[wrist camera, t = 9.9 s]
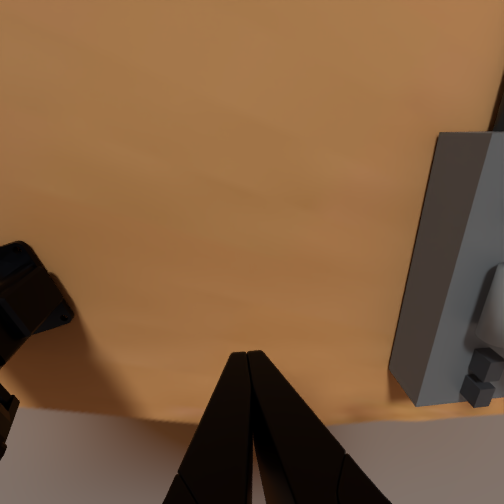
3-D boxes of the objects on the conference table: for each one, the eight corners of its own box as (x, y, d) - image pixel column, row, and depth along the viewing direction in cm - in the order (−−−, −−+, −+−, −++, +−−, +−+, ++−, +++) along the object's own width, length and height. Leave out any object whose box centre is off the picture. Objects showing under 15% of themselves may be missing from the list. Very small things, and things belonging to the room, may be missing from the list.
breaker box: (388, 368, 27) (427, 423, 22) (471, -17, 16) (584, -82, 11) (469, 361, 28) (525, 411, 23) (600, -13, 17) (759, -72, 12)
